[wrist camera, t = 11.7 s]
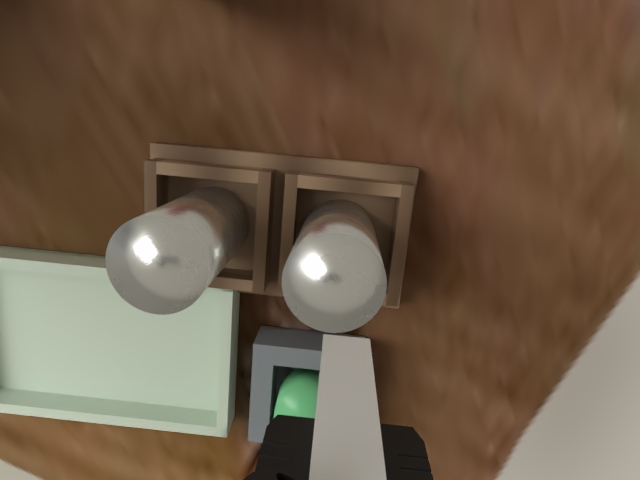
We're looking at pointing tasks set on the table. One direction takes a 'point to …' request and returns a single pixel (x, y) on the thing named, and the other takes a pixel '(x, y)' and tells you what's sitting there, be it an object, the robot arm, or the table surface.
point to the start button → (298, 394)
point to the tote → (111, 349)
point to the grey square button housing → (278, 369)
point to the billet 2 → (335, 269)
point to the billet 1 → (176, 249)
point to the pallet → (286, 204)
